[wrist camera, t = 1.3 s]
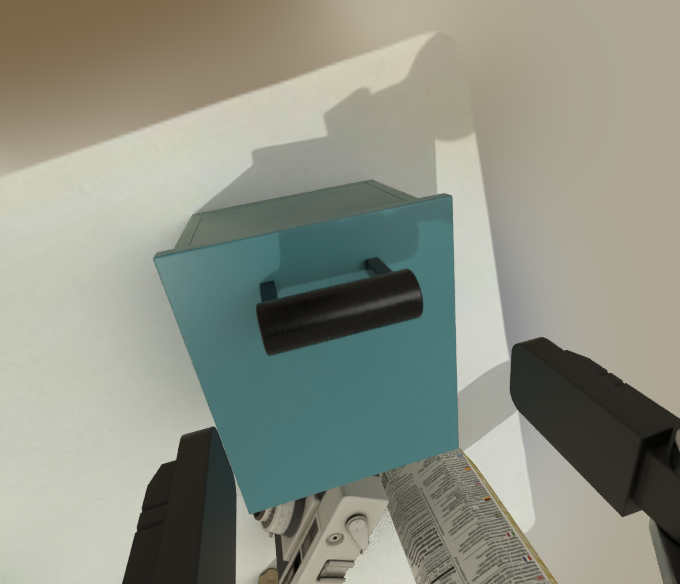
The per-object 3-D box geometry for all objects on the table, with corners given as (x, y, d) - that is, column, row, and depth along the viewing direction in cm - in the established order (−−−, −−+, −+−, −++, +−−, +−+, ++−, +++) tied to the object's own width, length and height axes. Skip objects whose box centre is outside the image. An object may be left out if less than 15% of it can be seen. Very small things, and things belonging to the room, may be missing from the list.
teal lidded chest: (192, 214, 28) (162, 268, 17) (372, 179, 30) (445, 208, 19) (246, 386, 34) (249, 503, 24) (390, 348, 36) (452, 439, 26)
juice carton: (403, 497, 45) (552, 837, 23) (364, 465, 41) (497, 830, 20) (467, 448, 44) (681, 753, 23) (432, 411, 41) (647, 730, 19)
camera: (284, 403, 36) (298, 495, 27) (361, 418, 39) (397, 506, 30) (235, 511, 40) (234, 623, 31) (309, 518, 43) (327, 622, 34)
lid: (155, 252, 17) (119, 305, 12) (445, 192, 19) (519, 216, 14) (249, 503, 24) (251, 605, 19) (453, 440, 26) (504, 516, 21)
